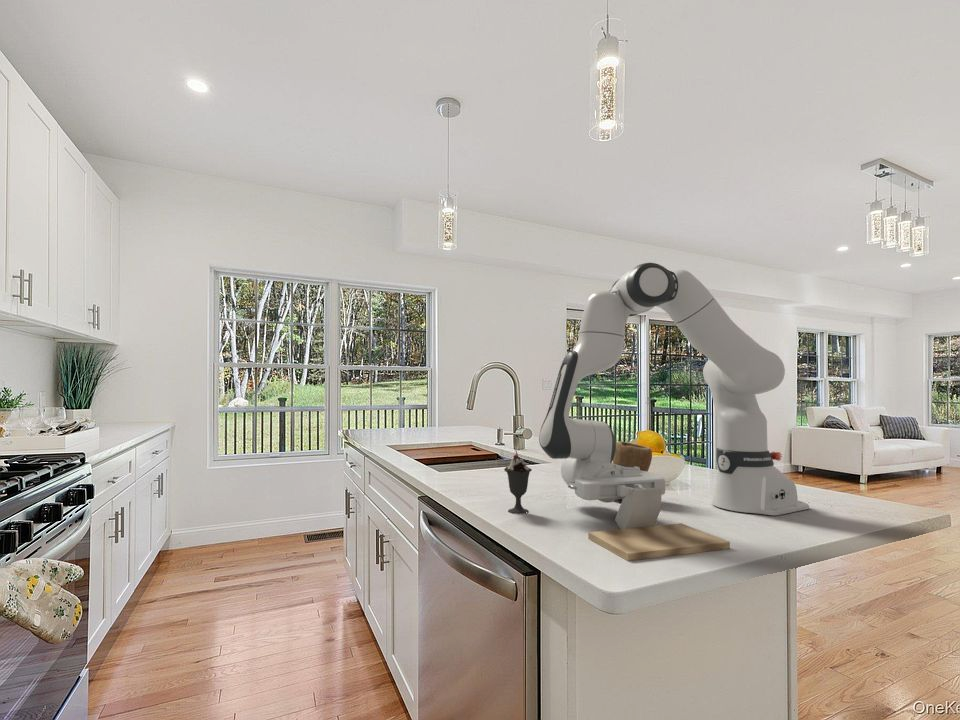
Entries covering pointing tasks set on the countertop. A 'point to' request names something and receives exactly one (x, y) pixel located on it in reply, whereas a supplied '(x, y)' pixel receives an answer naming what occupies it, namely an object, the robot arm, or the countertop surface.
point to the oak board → (657, 541)
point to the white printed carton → (639, 508)
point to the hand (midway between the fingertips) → (641, 493)
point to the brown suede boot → (632, 455)
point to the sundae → (518, 481)
